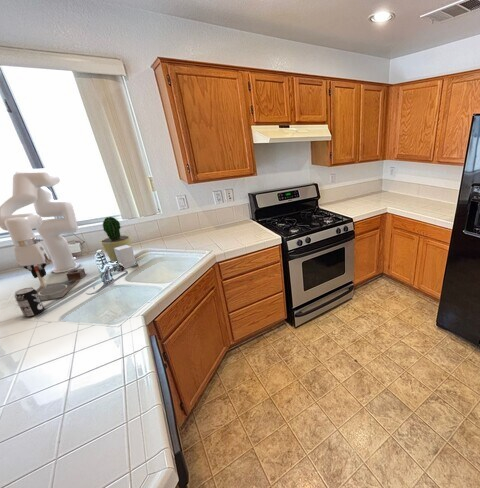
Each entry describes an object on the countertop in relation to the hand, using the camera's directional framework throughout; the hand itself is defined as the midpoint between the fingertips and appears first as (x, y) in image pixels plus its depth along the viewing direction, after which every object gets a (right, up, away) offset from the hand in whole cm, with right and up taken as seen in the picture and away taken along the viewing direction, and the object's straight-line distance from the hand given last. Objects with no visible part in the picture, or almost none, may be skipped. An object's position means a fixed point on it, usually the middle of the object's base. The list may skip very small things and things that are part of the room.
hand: (40, 276), depth 133 cm
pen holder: (+1, -3, +19) cm, 19 cm away
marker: (0, -6, +2) cm, 7 cm away
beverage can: (+13, -16, -14) cm, 24 cm away
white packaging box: (+19, +2, +34) cm, 39 cm away
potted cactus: (+8, +6, +43) cm, 44 cm away
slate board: (+2, -9, +4) cm, 10 cm away
